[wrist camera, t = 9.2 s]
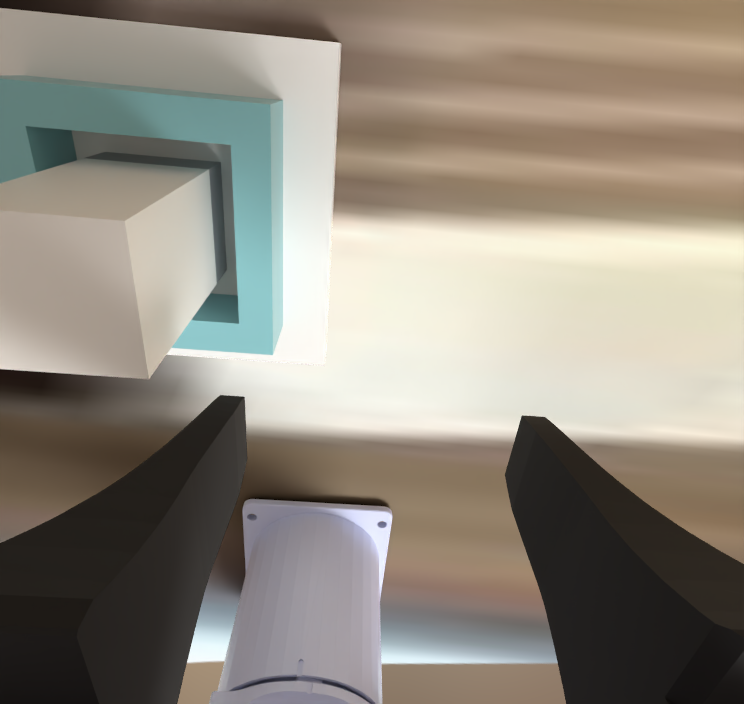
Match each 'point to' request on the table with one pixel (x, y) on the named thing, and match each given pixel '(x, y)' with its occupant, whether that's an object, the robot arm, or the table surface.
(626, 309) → the table surface
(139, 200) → the plug
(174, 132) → the port
